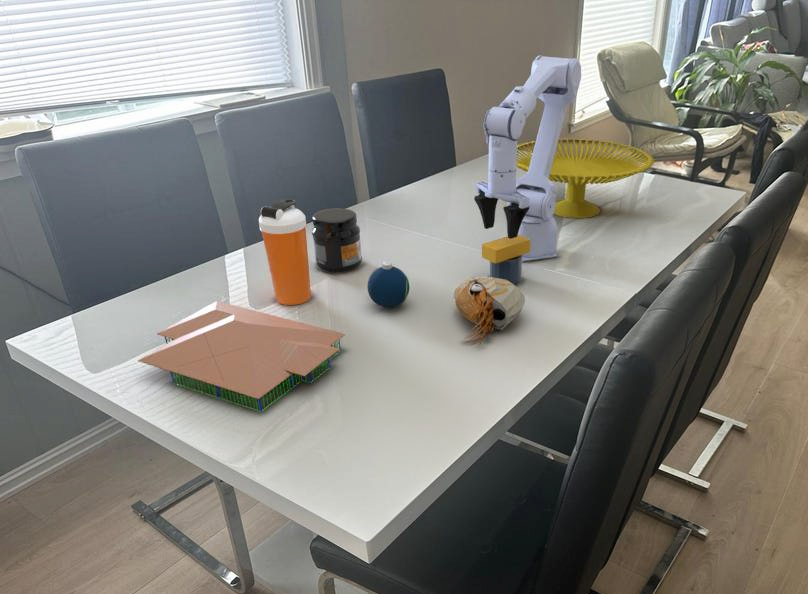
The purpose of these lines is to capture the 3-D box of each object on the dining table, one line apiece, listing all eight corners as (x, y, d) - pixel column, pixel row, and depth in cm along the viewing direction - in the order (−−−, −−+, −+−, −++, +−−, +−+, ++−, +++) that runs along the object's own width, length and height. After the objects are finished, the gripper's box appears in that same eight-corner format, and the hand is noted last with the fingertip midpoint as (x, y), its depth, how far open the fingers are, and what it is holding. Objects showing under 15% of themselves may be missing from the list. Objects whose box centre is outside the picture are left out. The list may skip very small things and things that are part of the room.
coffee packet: (516, 246, 153) (516, 233, 151) (530, 252, 150) (530, 239, 149) (481, 257, 148) (481, 244, 146) (495, 263, 145) (495, 250, 143)
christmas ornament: (399, 317, 136) (396, 271, 131) (361, 311, 139) (357, 264, 133) (417, 300, 143) (415, 255, 138) (380, 294, 145) (377, 249, 140)
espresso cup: (514, 272, 156) (514, 247, 153) (526, 284, 150) (527, 258, 147) (484, 276, 154) (485, 250, 151) (496, 288, 148) (496, 262, 145)
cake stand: (668, 203, 199) (676, 150, 191) (613, 247, 169) (619, 186, 162) (544, 180, 217) (547, 131, 209) (475, 216, 188) (475, 161, 180)
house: (275, 420, 106) (267, 375, 102) (123, 370, 118) (110, 329, 114) (360, 353, 124) (356, 312, 120) (220, 316, 136) (212, 278, 132)
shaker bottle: (323, 292, 146) (312, 200, 136) (300, 310, 139) (287, 214, 128) (287, 286, 148) (273, 195, 138) (262, 303, 141) (246, 208, 131)
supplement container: (372, 265, 159) (368, 214, 152) (334, 278, 152) (329, 226, 146) (343, 252, 165) (339, 204, 158) (306, 265, 158) (300, 215, 152)
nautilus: (501, 360, 123) (425, 348, 128) (536, 304, 140) (468, 295, 145) (499, 322, 119) (420, 311, 124) (536, 268, 136) (465, 261, 140)
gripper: (464, 164, 144) (464, 227, 151) (512, 180, 134) (509, 246, 141) (490, 159, 148) (489, 220, 155) (537, 174, 138) (534, 238, 145)
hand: (500, 232), depth 148 cm, fingers open, 7 cm apart
